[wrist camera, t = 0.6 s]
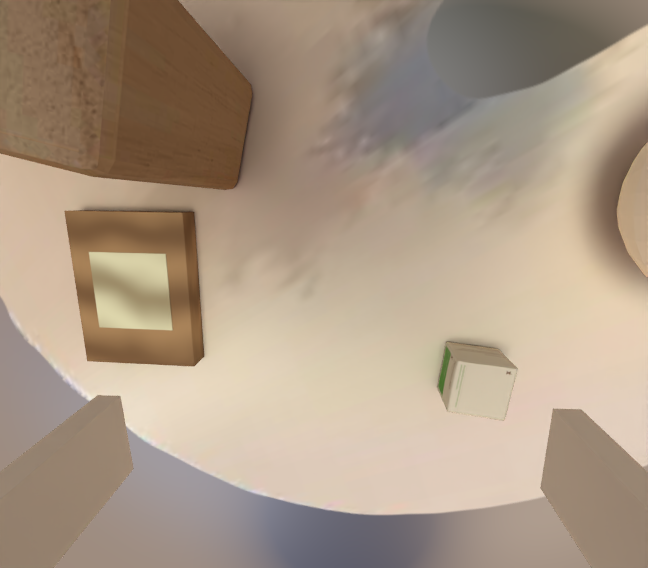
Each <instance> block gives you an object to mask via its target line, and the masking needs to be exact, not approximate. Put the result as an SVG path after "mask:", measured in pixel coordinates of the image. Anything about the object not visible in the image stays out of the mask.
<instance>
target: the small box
mask: <svg viewBox="0 0 648 568" xmlns="http://www.w3.org/2000/svg"><path fill="white" fill-rule="evenodd" d="M517 370H518V368H517V367H516V366H515V365H514V364H513V363H512V362H511V361H510V360H509V359H508V358H507V357H506V356H505V355H504V354H503V353H502V352H501V351H500V350H499V349H496V348H488V347H481V346H474V345H467V344H460V343H452V342H446V347H445V352H444V357H443V362H442V367H441V372H440V377H439V381H438V386H437V388H438V391H439V393H440V395H441V398H442V400H443V402H444V404H445V407H446V409H447V411H448V412H452V413H458V414H465V415H472V416H479V417H485V418H490V419H496V420H501V421H504V420H505V417H506V413H507V410H508V405H509V401H510V397H511V393H512V390H513V386H514V382H515V378H516V374H517Z"/></svg>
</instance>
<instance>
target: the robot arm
mask: <svg viewBox="0 0 648 568" xmlns="http://www.w3.org/2000/svg"><path fill="white" fill-rule="evenodd" d="M132 470H133V463H132V457H131V452H130V447H129V441H128V435H127V430H126V424H125V419H124V413H123V408H122V402H121V397H120V396H101V395H98V396H96V397H95V398H94V399H92V400H91V401H90V402H89V403H87V404H86V405H85V406H84V407H82V408H81V409H80V410H78V411H77V412H76V413H75V414H73V415H72V416H71V417H70V418H69V419H67V420H66V421H64V422H63V423H62V424H61V425H59V426H58V427H57V428H56V429H54V430H53V431H52V432H50V433H49V434H48V435H46V436H45V437H44V438H43V439H41V440H40V441H39V442H38V443H37V444H35V445H34V446H32V447H31V448H30V449H29V450H27V451H26V452H25V453H23V455H21V456H20V457H19V458H17V459H16V460H15V461H13V462H12V463H11V464H10V465H8V466H7V467H6V468H4V469H3V470H2V471H1V472H0V568H54V567H55V566H56V565H57V563H58V562H59V561H60V559H61V558H62V557H63V555H65V553H66V552H67V551H68V550H69V548H70V547H71V546H72V544H73V543H74V542H75V541H76V540H77V538H78V537H79V536H80V534H81V533H82V532H83V531H84V530H85V528H86V527H87V526H88V525H89V523H90V522H91V521H92V520H93V519H94V517H95V516H96V515H97V513H98V512H99V511H100V510H101V509H102V507H103V506H104V505H105V504H106V502H107V501H108V500H109V499H110V497H111V496H112V495H113V494H114V492H115V491H116V490H117V489H118V487H119V486H120V485H121V484H122V482H123V481H124V480H125V479H126V477H127V476H128V475H129V474H130V472H131V471H132ZM541 490H542V491H543V493H544V494H545V496H546V497H547V499H548V501H549V502H550V504H551V505H552V507H553V508H554V510H555V512H556V513H557V515H558V516H559V518H560V519H561V521H562V522H563V524H564V526H565V527H566V529H567V530H568V532H569V533H570V535H571V537H572V538H573V539H574V541H575V543H576V545H577V546H578V548H579V549H580V551H581V552H582V554H583V556H584V557H585V559H586V560H587V562H588V563H589V565H590V566H591V568H648V472H647V471H646V470H645V469H644V468H643V467H642V466H641V465H640V464H639V463H637V462H636V461H635V460H634V459H633V458H632V457H631V456H630V455H629V454H628V453H627V452H626V451H625V450H624V449H623V448H622V447H621V446H619V445H618V444H617V443H616V442H615V441H614V440H613V439H612V438H611V437H610V436H609V435H608V434H607V433H606V432H605V431H604V430H602V429H601V428H600V427H599V426H598V425H597V424H596V423H595V422H594V421H593V420H592V419H591V418H590V417H589V416H588V415H587V414H585V413H584V412H583V411H582V410H580V409H553V412H552V419H551V425H550V431H549V438H548V444H547V450H546V456H545V463H544V469H543V475H542V482H541Z"/></svg>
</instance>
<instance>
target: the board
mask: <svg viewBox="0 0 648 568" xmlns="http://www.w3.org/2000/svg"><path fill="white" fill-rule="evenodd" d="M65 217H66V224H67V230H68V237H69V243H70V250H71V257H72V263H73V270H74V276H75V283H76V289H77V296H78V302H79V309H80V316H81V322H82V329H83V335H84V342H85V348H86V355H87V361H97V362H117V363H137V364H157V365H177V366H195V365H196V364H197V363H198V362H199V361H200V360H201V359H202V358H203V357H204V349H203V335H202V321H201V307H200V292H199V278H198V264H197V250H196V235H195V221H194V212H151V211H90V210H80V211H65Z"/></svg>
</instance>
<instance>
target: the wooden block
mask: <svg viewBox="0 0 648 568" xmlns="http://www.w3.org/2000/svg"><path fill="white" fill-rule="evenodd" d="M251 98H252V89H251V84H250V83H249V82H248V81H247V80H246V79H245V77H244V76H243V75H242V74H241V73H240V72H239V70H238V69H237V68H236V67H235V66H234V65H233V63H232V62H231V61H230V60H229V59H228V58H227V57H226V55H225V54H224V53H223V52H222V51H221V50H220V48H219V47H218V46H217V45H216V44H215V43H214V41H213V40H212V39H211V38H210V37H209V36H208V35H207V33H206V32H205V31H204V30H203V29H202V28H201V26H200V25H199V24H198V23H197V22H196V21H195V19H194V18H193V17H192V16H191V15H190V14H189V13H188V11H187V10H186V9H185V8H184V7H183V6H182V4H181V3H180V2H179V1H178V0H0V153H1V154H5V155H9V156H13V157H17V158H21V159H25V160H29V161H33V162H37V163H41V164H45V165H49V166H53V167H57V168H61V169H65V170H69V171H73V172H77V173H81V174H85V175H89V176H93V177H101V178H112V179H122V180H132V181H142V182H152V183H162V184H172V185H182V186H193V187H203V188H213V189H223V190H227V189H233V188H234V186H235V184H236V183H237V180H238V174H239V168H240V162H241V156H242V151H243V145H244V139H245V133H246V127H247V122H248V116H249V110H250V104H251Z"/></svg>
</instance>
